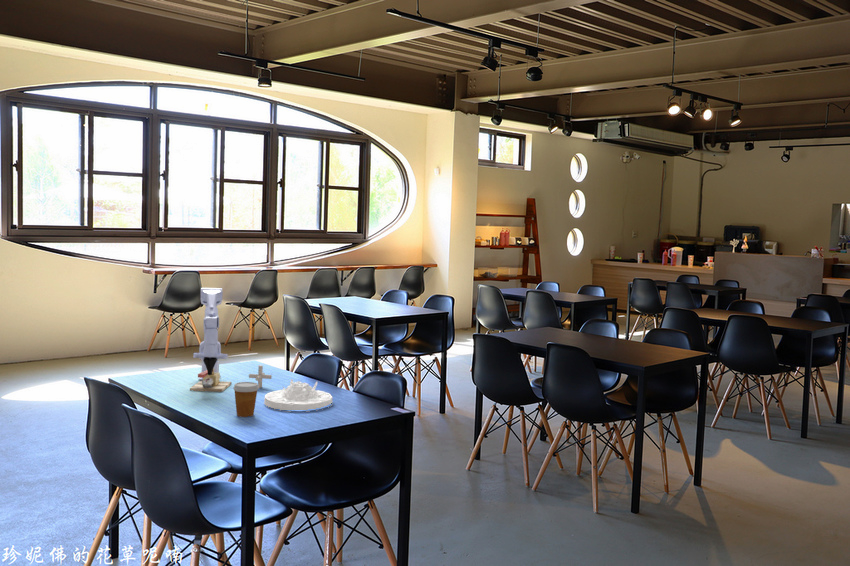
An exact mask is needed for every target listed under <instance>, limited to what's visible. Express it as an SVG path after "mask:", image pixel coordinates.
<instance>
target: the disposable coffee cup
mask: <svg viewBox="0 0 850 566" xmlns="http://www.w3.org/2000/svg"><path fill="white" fill-rule="evenodd" d="M232 388H233V390H234V400H235V409H236V410H235V411H236V416H238V417H241V418H249V417H252V416H254V414H255V409H256V408H255V407H256V403H257V395H258V391H259V389H260V388H259V387H258V382H257V383H256V382H253V381H252V382H251V381H240V382H236V383H235V384H234V386H233V387H232ZM248 416H249V417H248Z"/></svg>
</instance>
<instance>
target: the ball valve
mask: <svg viewBox="0 0 850 566" xmlns="http://www.w3.org/2000/svg"><path fill="white" fill-rule="evenodd" d="M220 376H221V372H219V373H215V372H214V371H213V372H212V375H207V376H206V377H204V378H203V380H202V381H203V382H202V386H203V388H212V386H214V387H216V386H217V385H218V384H219V382H220V379H221V377H220Z"/></svg>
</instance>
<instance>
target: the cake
mask: <svg viewBox="0 0 850 566" xmlns="http://www.w3.org/2000/svg"><path fill="white" fill-rule="evenodd" d="M289 383H290V385H287V387H286V388H285V386H282V387H283V389H279V390H274V391H270V392H267V393H266V394H265V395H264V400H263V401H264V406H265V405H266V406H265V407H267V406H268V407H267V408H269V407H271V408H274V409H273V410H275V409H280V410H279V411H281V410H308V409H316V408H321V407H324V406H327V405H329V404H331V403H332V404H333V396H332V395H331V393H329V392H326V391H324V390H319V389H317V386H318V381H316V382H315V383H314V384H313V387H312V385H310V384H309V383H307V382H302V381H301V380H298V381H294V380H293V378H291V379H290V382H289ZM316 389H317V390H316ZM271 408H270V409H271Z"/></svg>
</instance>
